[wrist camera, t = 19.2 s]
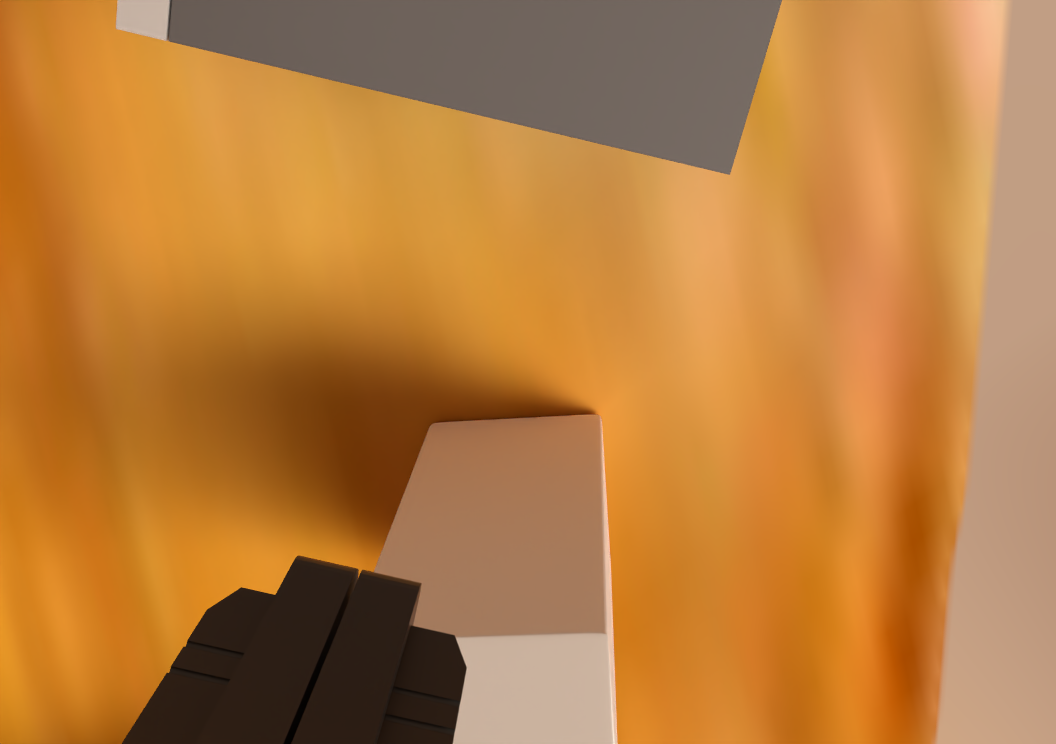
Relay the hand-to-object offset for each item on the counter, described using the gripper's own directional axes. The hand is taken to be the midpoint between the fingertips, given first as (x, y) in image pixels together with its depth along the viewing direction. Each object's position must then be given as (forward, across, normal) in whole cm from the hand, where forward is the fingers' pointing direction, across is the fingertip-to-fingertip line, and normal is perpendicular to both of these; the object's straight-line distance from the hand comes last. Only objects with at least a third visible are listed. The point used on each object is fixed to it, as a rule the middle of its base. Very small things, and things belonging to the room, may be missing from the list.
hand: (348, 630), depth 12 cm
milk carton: (+27, -3, +12) cm, 30 cm away
